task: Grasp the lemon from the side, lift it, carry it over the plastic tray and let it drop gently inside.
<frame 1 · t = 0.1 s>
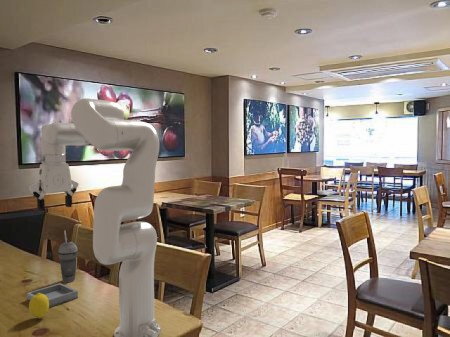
hand: (55, 208, 133), 31 cm above the table, tool pointing down, fingers open, 9 cm apart
lemon: (39, 319, 116), on the table
tray: (52, 299, 131), on the table
beverage cup: (68, 281, 149), on the table
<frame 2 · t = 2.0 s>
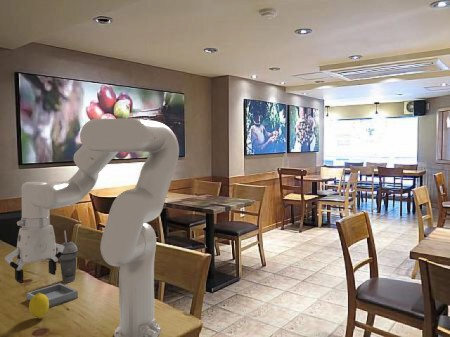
hand: (36, 277, 115), 13 cm above the table, tool pointing down, fingers open, 9 cm apart
nothing on the table moved.
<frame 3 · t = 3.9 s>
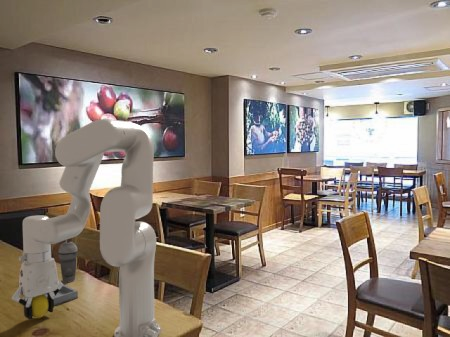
hand: (39, 314, 116), 2 cm above the table, tool pointing down, fingers closed on lemon, 5 cm apart
lemon: (39, 319, 116), on the table, touching gripper
everything else where it was.
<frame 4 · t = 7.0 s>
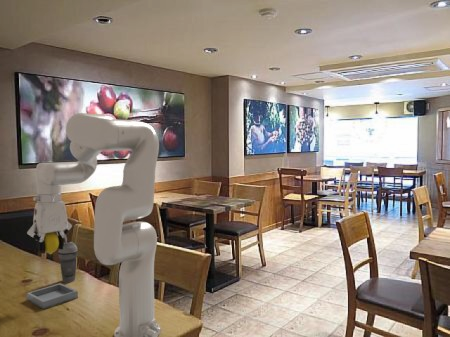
hand: (51, 250, 130), 17 cm above the table, tool pointing down, fingers closed on lemon, 5 cm apart
lemon: (50, 254, 130), point 15 cm above the table, touching gripper
everything else where it was.
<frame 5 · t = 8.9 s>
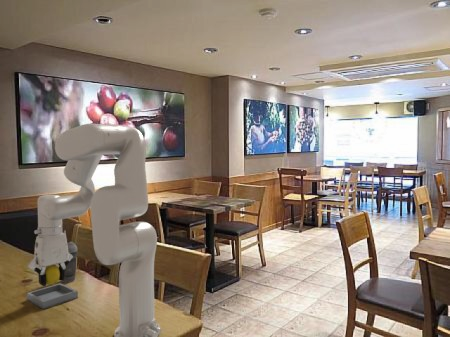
hand: (52, 282, 131), 6 cm above the table, tool pointing down, fingers closed on lemon, 5 cm apart
lemon: (51, 286, 131), point 4 cm above the table, touching gripper
everything else where it was.
when the fingers open (4 cm above the table, at t = 10.2 s): lemon drops 2 cm, resting on tray.
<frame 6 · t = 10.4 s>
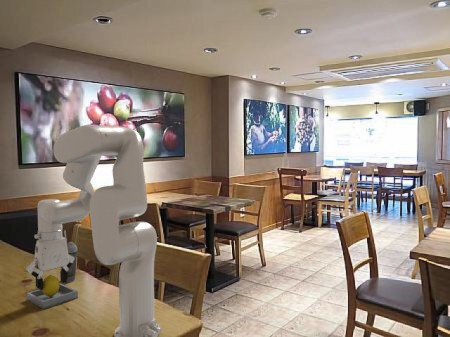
hand: (52, 285, 131), 5 cm above the table, tool pointing down, fingers open, 7 cm apart
lemon: (51, 298, 131), resting on tray
everything else where it was.
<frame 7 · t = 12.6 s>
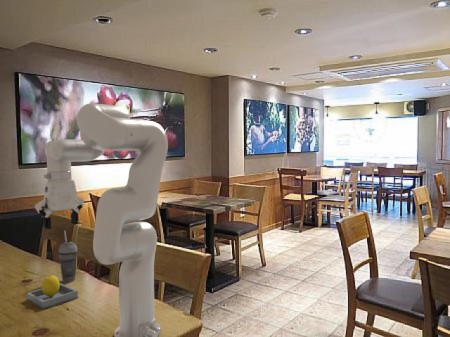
hand: (61, 226, 130), 25 cm above the table, tool pointing down, fingers open, 9 cm apart
nothing on the table moved.
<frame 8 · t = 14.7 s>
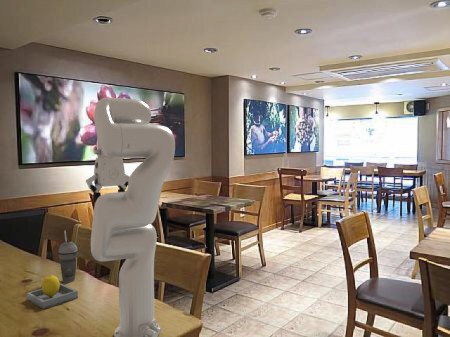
hand: (109, 202, 133), 33 cm above the table, tool pointing down, fingers open, 9 cm apart
nothing on the table moved.
at the end: lemon inside the target area on the tray (0.4 cm from its centre), point 0.4 cm above the tray's base; the gripper is holding nothing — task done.
